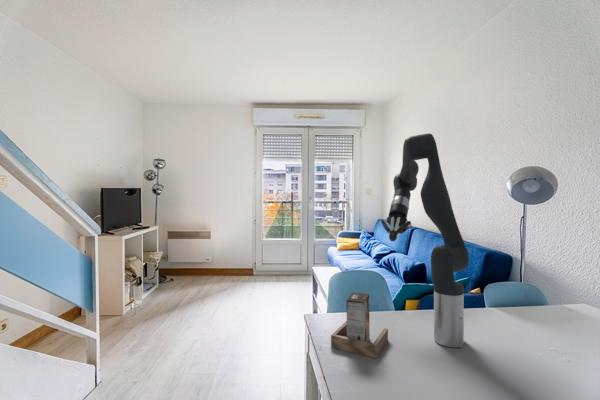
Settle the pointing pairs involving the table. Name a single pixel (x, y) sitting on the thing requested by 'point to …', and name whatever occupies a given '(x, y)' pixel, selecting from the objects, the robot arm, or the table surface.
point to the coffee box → (358, 316)
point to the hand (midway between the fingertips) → (392, 240)
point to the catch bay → (358, 342)
